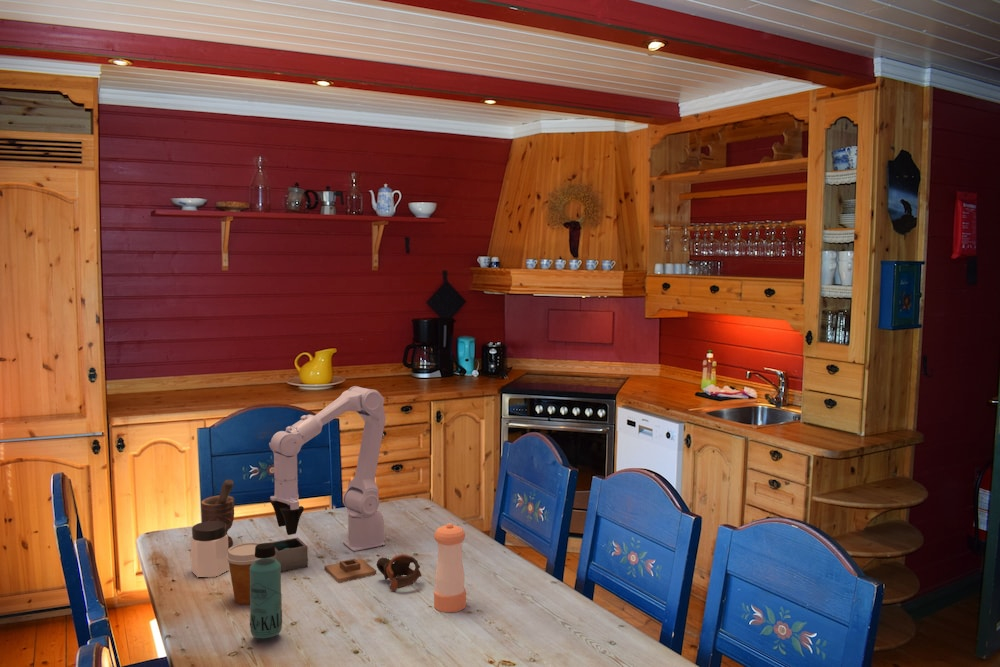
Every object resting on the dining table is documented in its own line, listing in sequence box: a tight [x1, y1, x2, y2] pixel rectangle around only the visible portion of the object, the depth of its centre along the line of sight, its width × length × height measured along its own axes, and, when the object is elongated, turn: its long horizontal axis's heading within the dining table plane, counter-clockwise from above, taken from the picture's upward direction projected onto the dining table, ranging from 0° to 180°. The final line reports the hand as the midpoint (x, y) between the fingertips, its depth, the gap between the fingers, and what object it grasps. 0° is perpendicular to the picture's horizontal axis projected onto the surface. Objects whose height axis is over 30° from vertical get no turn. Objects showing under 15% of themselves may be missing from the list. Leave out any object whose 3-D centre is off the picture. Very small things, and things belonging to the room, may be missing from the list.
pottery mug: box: [376, 554, 422, 593], centre depth 191 cm, size 12×10×8 cm
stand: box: [323, 558, 377, 584], centre depth 199 cm, size 10×10×2 cm
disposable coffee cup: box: [226, 542, 263, 606], centre depth 182 cm, size 10×10×12 cm
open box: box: [269, 536, 309, 574], centre depth 203 cm, size 8×8×6 cm
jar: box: [190, 521, 230, 578], centre depth 199 cm, size 9×8×12 cm
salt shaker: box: [433, 522, 467, 613], centre depth 178 cm, size 7×7×19 cm
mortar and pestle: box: [200, 479, 235, 549], centre depth 216 cm, size 12×9×20 cm
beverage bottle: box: [248, 542, 283, 639], centre depth 162 cm, size 6×7×20 cm
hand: (287, 529), depth 203 cm, fingers open, 7 cm apart
